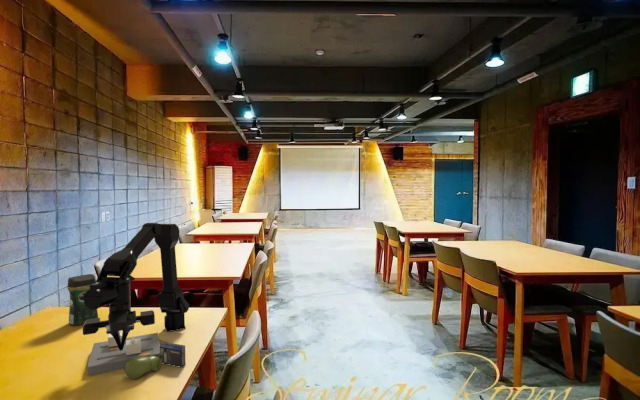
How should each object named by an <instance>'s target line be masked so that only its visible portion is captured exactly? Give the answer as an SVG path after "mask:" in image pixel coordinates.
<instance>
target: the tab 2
mask: <svg viewBox="0 0 640 400" xmlns="http://www.w3.org/2000/svg"><path fill="white" fill-rule="evenodd" d="M136 353H141V338H138V339H135V338H132V340H126V355H131V354H136Z"/></svg>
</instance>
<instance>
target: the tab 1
mask: <svg viewBox="0 0 640 400" xmlns="http://www.w3.org/2000/svg"><path fill="white" fill-rule="evenodd" d="M119 332H120V338H121V341H122V333H123V330H122V331H119ZM107 335H108V336H107V341H108V347H113V346H118V345H117V343H116V341H115V339H114V337H113V336H112V335H111V334H107Z"/></svg>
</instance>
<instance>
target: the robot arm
mask: <svg viewBox="0 0 640 400" xmlns="http://www.w3.org/2000/svg"><path fill="white" fill-rule="evenodd" d="M179 227H180V226H178V225H177V224H176V223H158V222H146V223H144V224H142V227H141V228H140V230H139V231H138V232H137V233H136V235H134V236H133V237H132V239H131V240H130V241H129V242H128V243H127V244H126V245H125V246H124V248H122V249H121V250H118V251H117V252H114V253H113V254H111V255H109V257H107V258H106V259H105V260H104V262H103V265H102V267H101V269H100V272H99V274H98V277H97V278H96V283H97V284H91V285H90V289H89V290H88V291H87V292H86V293H85V296H84V303H85V305H86V306H87V307H88V308H89V309H91V310H95V309H97V310H98V309H101V308H102V307H105V306H107V305H108V316H107V318H108V319H107V320H101V317H98V318H94V319H87V320H86V321H85V322H84V324H82V335H83V336H86V335H87V336H88V335H94V334H96V333H97V332H98V331H99V329H103V328H105V329H106V332H105V333H106V334H107V335H109V334H111V335H112V336H113V337H114V339H115V341H116V343H117V345H118V348H119V350H120V351H121V350H123V347H124V344H125V341H126V338H128V335H129V333H130V331H133V330H134V329H135V324H136V323H140V324H141V325H142V326H149V325H154V324H155V323H156V319H155V318H156V317H155V311H154V310H153V309H151V310H145V311H144V310H143V311H140V315H136V313H137V312H136V310H131V309H132V308H131V307H132V305H131V303H132V301H131V282H133V281H135V279H136V278H135V277H134V276H133V275H131V274H132V273H133V272H134V270H135V268H136V267H137V265H138V260H137V259H138V258H139V256H140V255H141V254H142V253H143V252H144V251H145V249H146V248H147V247H148V246H149V244H150V243H151V242H153V240H154V242H155V244H156V245H157V246H158V248H159V250H160V252H159V253H160V260H161V261H160V263H161V271H162V272H161V273H162V289H161V291H160V292H159V293H158V294H157V299H158V302H157V304H158V306H159V309H160V313H162V314H163V313H165V315H164V319H163V320H164V330H166V332H168V333H169V332H173V331H180V330H186V325H185V314H186V313H188V311H189V309H190V304H189V303H188V301H187V300H186V299H185V296H184V291H183V289H182V288H181V287H180V285H179V284H178V269H177V260H176V259H177V258H176V245H177V244H178V242H179V239H180V228H179ZM121 331H123V333H122V341H121V338H120V332H121Z"/></svg>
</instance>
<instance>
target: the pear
mask: <svg viewBox="0 0 640 400" xmlns="http://www.w3.org/2000/svg"><path fill="white" fill-rule="evenodd" d="M161 363H162V361H161V359H160V357H156V356H150V357H145V356H142V357H136V358H133V359H131V360H129V361H128V362H127V364H126V366H125V369H124V374H125V376H126V377H127V378H129V379H133V380H134V379H139V378H141V377H142V376H143V375H144V374H146V373H147V372H150V371H154V372H157V371H159V370H160V369H161V366H162V364H161Z"/></svg>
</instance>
